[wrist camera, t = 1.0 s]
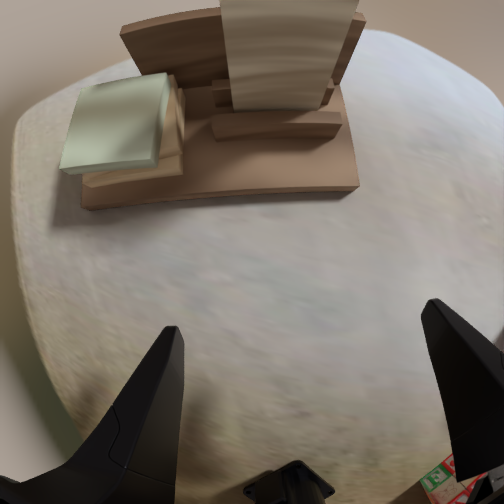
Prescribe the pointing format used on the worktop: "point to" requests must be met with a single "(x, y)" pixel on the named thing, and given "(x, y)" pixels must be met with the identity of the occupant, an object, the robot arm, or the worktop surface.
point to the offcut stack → (126, 131)
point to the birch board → (283, 51)
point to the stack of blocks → (447, 484)
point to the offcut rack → (234, 123)
